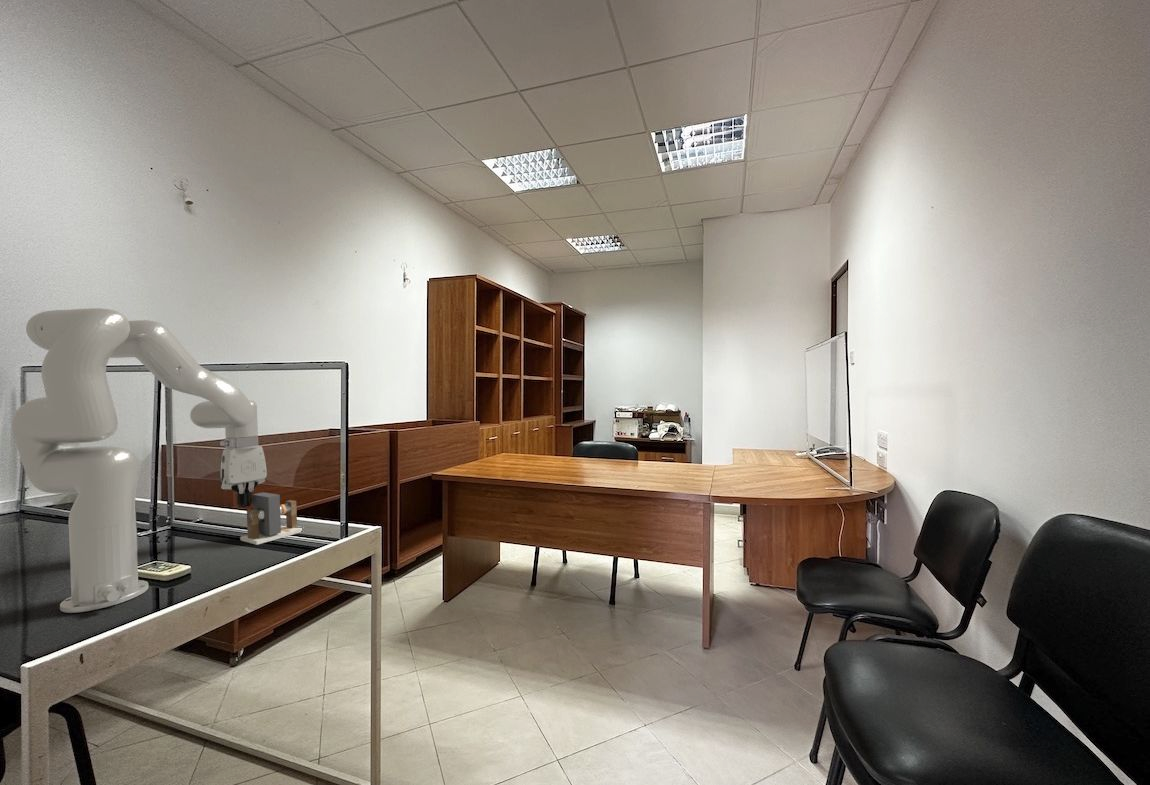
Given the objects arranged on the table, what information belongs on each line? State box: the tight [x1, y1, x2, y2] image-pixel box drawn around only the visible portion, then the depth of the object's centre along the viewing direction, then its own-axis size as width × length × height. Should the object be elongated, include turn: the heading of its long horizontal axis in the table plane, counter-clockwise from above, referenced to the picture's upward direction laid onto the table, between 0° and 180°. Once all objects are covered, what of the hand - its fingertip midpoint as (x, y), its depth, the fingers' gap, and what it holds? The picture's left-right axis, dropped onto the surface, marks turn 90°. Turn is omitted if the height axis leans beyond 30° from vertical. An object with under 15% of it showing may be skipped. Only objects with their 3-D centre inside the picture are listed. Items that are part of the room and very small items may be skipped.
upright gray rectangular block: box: [251, 492, 282, 536], centre depth 129 cm, size 9×3×11 cm, turn 61°
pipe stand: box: [240, 499, 302, 546], centre depth 131 cm, size 9×13×9 cm
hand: (244, 506), depth 128 cm, fingers closed
